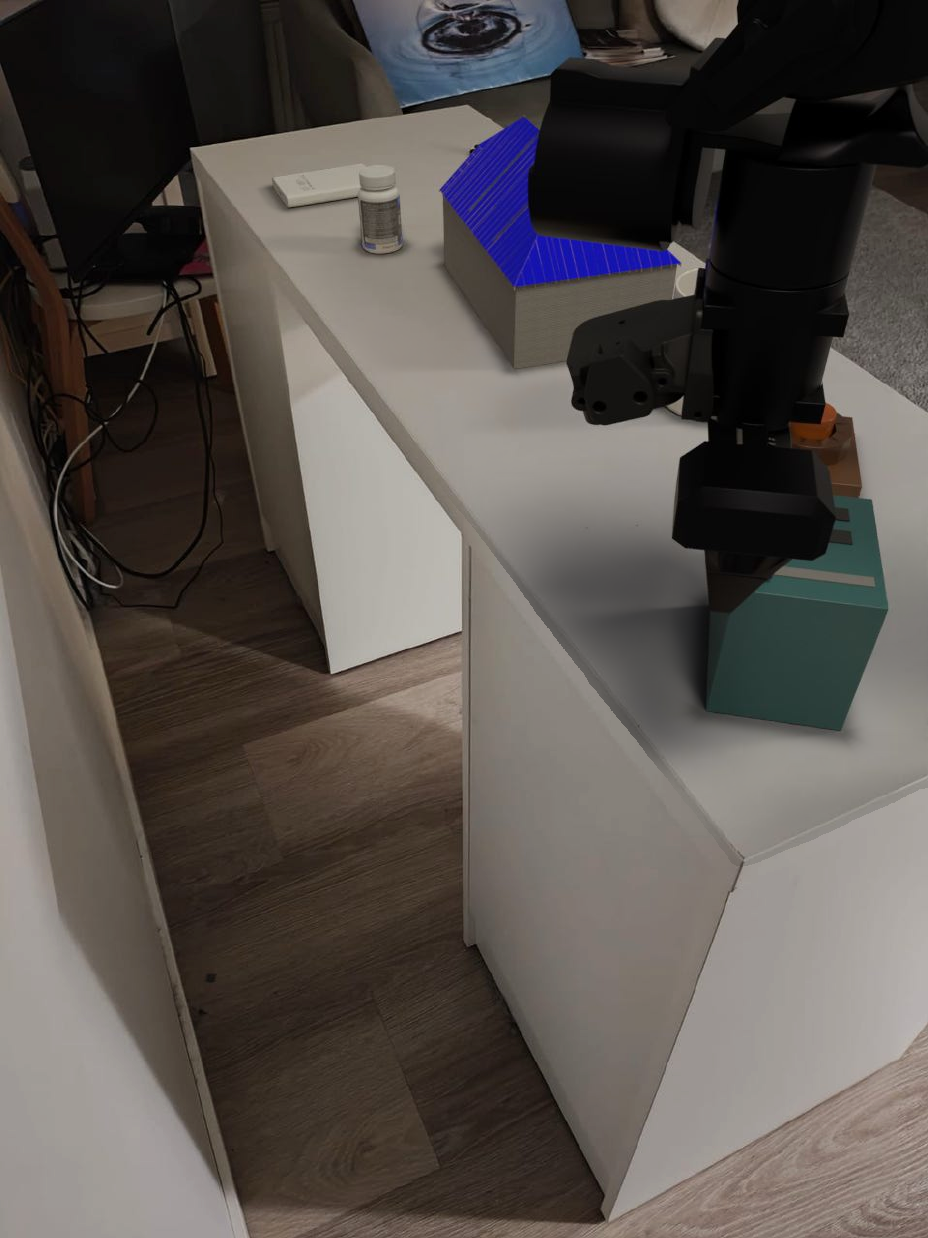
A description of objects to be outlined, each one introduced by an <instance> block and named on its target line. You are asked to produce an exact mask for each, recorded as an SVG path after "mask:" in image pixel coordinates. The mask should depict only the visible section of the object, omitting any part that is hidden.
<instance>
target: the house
mask: <svg viewBox="0 0 928 1238" xmlns="http://www.w3.org/2000/svg"><path fill="white" fill-rule="evenodd" d="M539 132H540V128H538V127H537V126H535V125H534V124H533V123H532V122H531V121H530V120H529V119H528V118H527V117H526V115H525V114H524V115H523V116H521V117H520V118H519V119H517V120H516V121H514V122H513V123H511V124H509V125H508V126H506V127H505V128H503V129H502V130H500V131H498V132H496V133H495V134H493V135H492V136H490V137H489V138H486V139H485V140H484V141H482V142H480V143H479V144H477V146H476V147H475V148H474V150H472V152H471V153H470V154H469V155H468V156H467V157H466V159H465V160H464V161H463V162H462V163H461V165H460V166H459V167H458V168H457V169H456V170H455V171H454V172H453V174H451V176H450V177H448V179H447V181H445V182H444V184H443V185H442V186H441V187H440V188H439V189H438V191H439V193H441V195H442V216H443V217H442V219H443V220H442V223H443V224H442V226H443V258H444V259H443V261H444V267H445V269H446V270H447V272H448V273H449V274H450V276H451V277H452V279H453V281H454V282H455V283H456V285H457V286H458V288H459V289H460V291H461V293H462V294H463V296H464V297H465V299H466V300H467V301H468V303H469V305H470V306H471V308H472V309H473V310H474V312H475V313H476V315H477V317H478V318H479V320H480V321H481V322H482V324H483V325H484V326H485V328H486V329H487V331H488V332H489V334H490V336H491V337H492V338H493V340H494V341H495V343H496V344H497V346H498V347H499V349H500V350H501V352H502V354H503V355H504V356H505V358H506V359H507V361H508V362H509V364H510V365H511V367H512V368H513V370H517V369H522V368H529V367H536V366H542V365H547V364H548V365H549V364H554V363H560V362H566V361H567V357H568V352H569V348H570V344H571V340H572V336H573V332H574V330H575V329H576V328H577V327H578V326H579V325H580V324H582V323H583V322H585V321H587V320H589V319H592V318H595V317H598V316H602V315H606V314H609V313H613V312H617V311H620V310H624V309H628V308H631V307H635V306H639V305H642V304H646V303H650V302H653V301H658V300H671V299H673V296H674V289H675V282H676V275H677V268H678V266H679V267H682V262H681V260H679V259H678V258H677V257H676V256H675V255H674V254H673V253H672V252H671V251H670V250H668V249H667V250H665V251H657V250H649V249H641V248H633V247H625V246H618V245H610V244H602V243H594V242H587V241H579V240H571V239H563V238H555V237H548V236H541V235H538V234H536V232H535V231H534V229H533V227H532V223H531V220H530V214H529V207H528V173H529V169H530V167H531V166H532V165H533V164H534V161H535V153H536V147H537V142H538V136H539Z"/></svg>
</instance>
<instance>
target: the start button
mask: <svg viewBox="0 0 928 1238" xmlns="http://www.w3.org/2000/svg"><path fill="white" fill-rule="evenodd" d="M837 413H838V412H837V410H836V408H835V407H833V406H832V405H831V404H830V403H827V402H826V406H825V409H824V413H823V417H822V421H821V425H819V424H806V423H794V422H790V428H791V433H792V434H795V435H798V436H800V437H803V438H808V439H823V438H828V437H829V436H830V435H831V433H832V430H833V426H834V423H835V419H836V416H837Z"/></svg>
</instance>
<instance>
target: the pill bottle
mask: <svg viewBox="0 0 928 1238" xmlns="http://www.w3.org/2000/svg"><path fill="white" fill-rule="evenodd" d="M359 180H360V186H361V188H360V189H359V191H358V197H357V204H358V214H359V223H360V224H359V225H360V237H361V238H360V239H361V245H362V248H363V249H364V251H366V252H368V253H371V254H376V255H377V254H378V255H379V254H381V255H382V254H389V253H394V252H397V251H398V250H400V249H401V248H402V246H403V228H402V225H403V224H402V213H401V212H402V211H401V209H402V208H401V194H400V189H399V188H398V187H397V186H396V183H397V179H396V170H395V168H394V167H392V166H389V165H383V164H377V165H376V164H375V165H369V166H366V167H365V168H363V169H361V170H360V171H359Z"/></svg>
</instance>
